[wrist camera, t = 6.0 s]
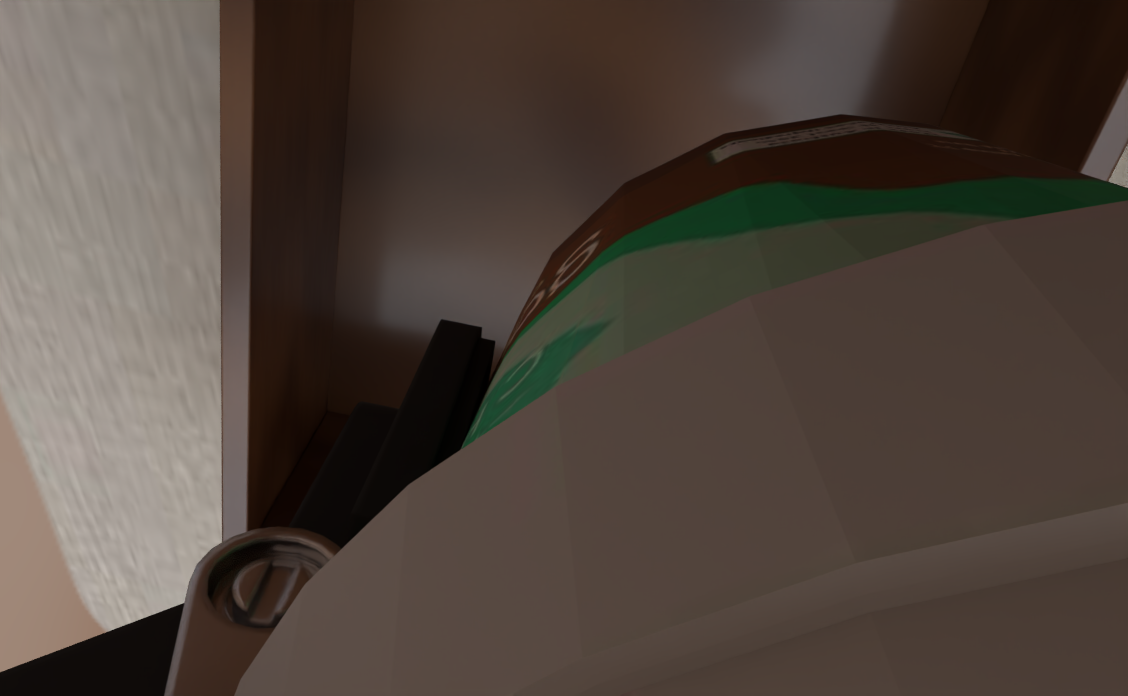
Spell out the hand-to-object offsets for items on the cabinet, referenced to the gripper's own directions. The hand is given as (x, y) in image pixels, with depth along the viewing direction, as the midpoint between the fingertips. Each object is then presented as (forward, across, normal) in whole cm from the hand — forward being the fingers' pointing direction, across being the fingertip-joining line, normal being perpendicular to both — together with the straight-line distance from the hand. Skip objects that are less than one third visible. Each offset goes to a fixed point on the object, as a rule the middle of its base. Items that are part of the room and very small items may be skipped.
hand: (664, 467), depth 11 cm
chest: (+12, +1, +1) cm, 12 cm away
